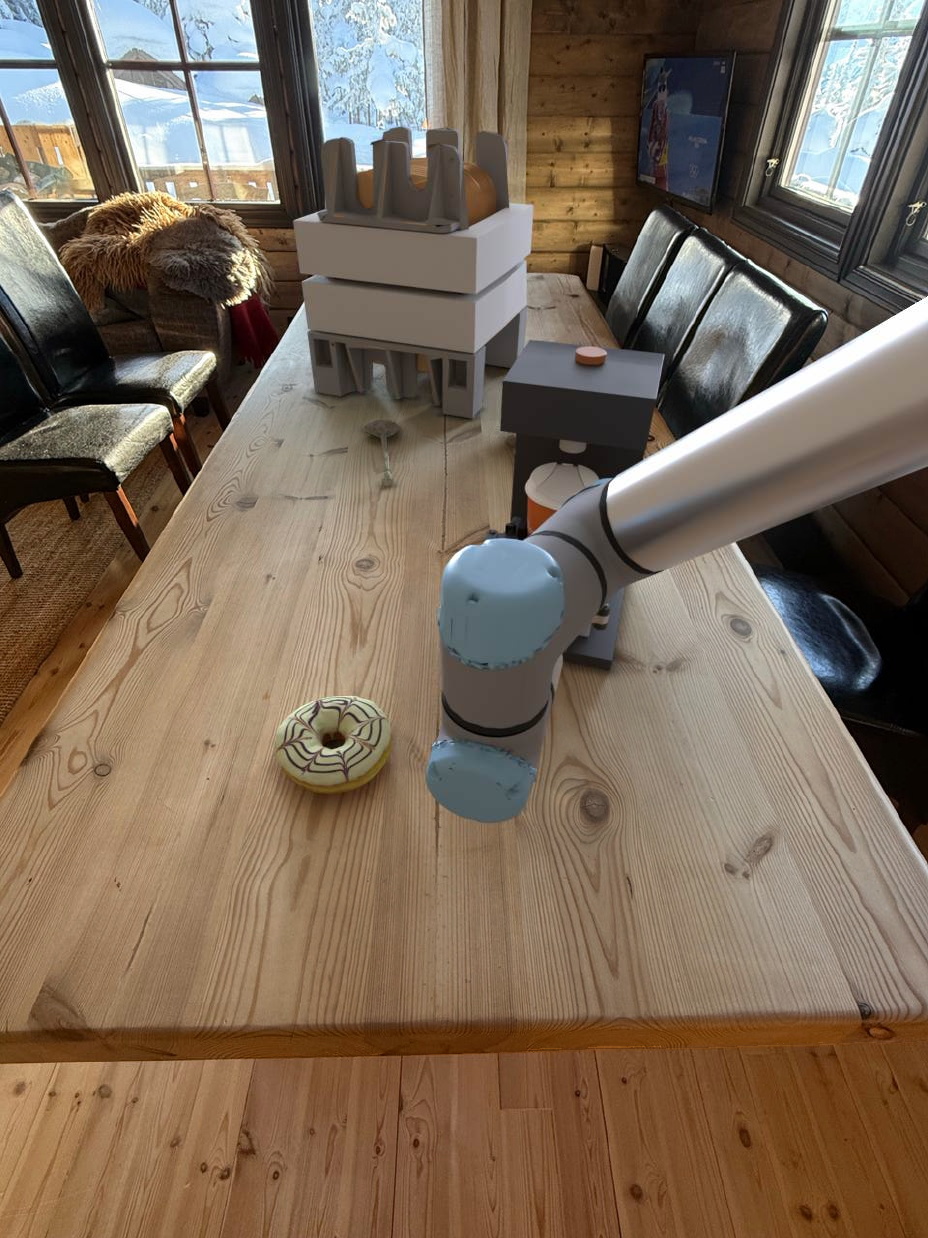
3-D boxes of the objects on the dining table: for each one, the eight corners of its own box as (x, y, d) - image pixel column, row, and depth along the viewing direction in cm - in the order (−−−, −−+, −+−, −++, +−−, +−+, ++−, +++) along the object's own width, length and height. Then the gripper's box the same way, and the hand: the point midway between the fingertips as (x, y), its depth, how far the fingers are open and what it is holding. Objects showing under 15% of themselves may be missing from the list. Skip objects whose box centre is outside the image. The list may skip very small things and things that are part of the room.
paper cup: (521, 565, 77) (531, 455, 68) (587, 573, 76) (606, 463, 67) (512, 607, 71) (520, 493, 62) (583, 616, 70) (602, 502, 61)
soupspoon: (400, 428, 119) (364, 431, 118) (398, 410, 116) (361, 413, 116) (408, 485, 102) (366, 489, 101) (406, 464, 99) (362, 469, 99)
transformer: (526, 361, 143) (542, 128, 116) (474, 420, 120) (480, 147, 93) (385, 340, 152) (370, 120, 125) (311, 392, 129) (274, 135, 102)
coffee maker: (610, 670, 72) (665, 419, 53) (469, 641, 75) (474, 395, 56) (626, 575, 85) (676, 346, 66) (506, 554, 88) (520, 330, 69)
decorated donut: (318, 700, 68) (313, 675, 66) (411, 732, 65) (409, 707, 63) (257, 777, 61) (249, 752, 58) (358, 818, 58) (354, 792, 55)
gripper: (413, 659, 61) (479, 527, 77) (628, 705, 57) (648, 555, 73) (410, 596, 56) (480, 470, 72) (645, 640, 52) (662, 496, 68)
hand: (565, 513), depth 73 cm, fingers closed on paper cup, 7 cm apart
